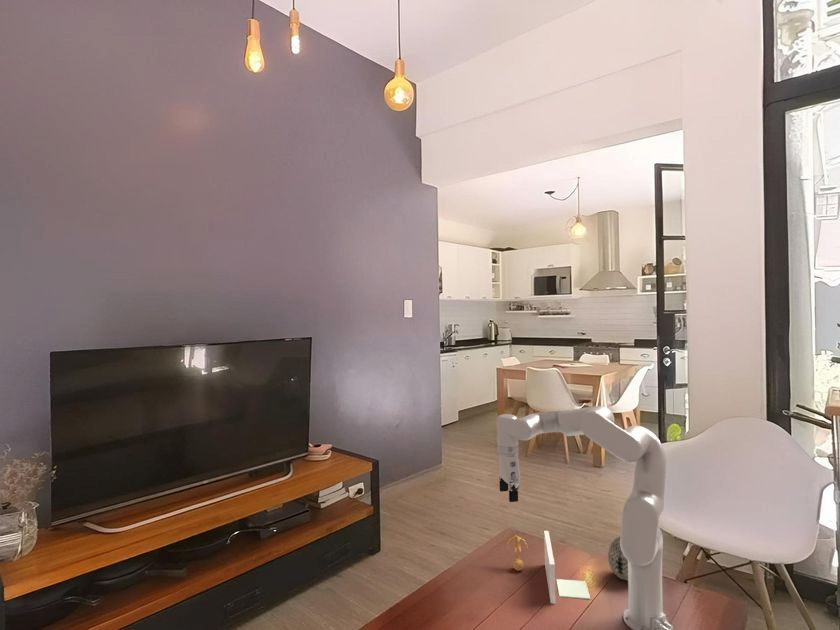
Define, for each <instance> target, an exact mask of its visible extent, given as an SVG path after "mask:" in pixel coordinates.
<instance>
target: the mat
mask: <svg viewBox="0 0 840 630" xmlns="http://www.w3.org/2000/svg"><path fill="white" fill-rule="evenodd" d="M555 581H556V586H557V590H558V595H559V596H558V597H559V598H571V599H579V600H580V599H581V600H591V595H590V593H589V592H590V591H589V588H588V585H587V582H586V580H574V579H559V578H555Z"/></svg>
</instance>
